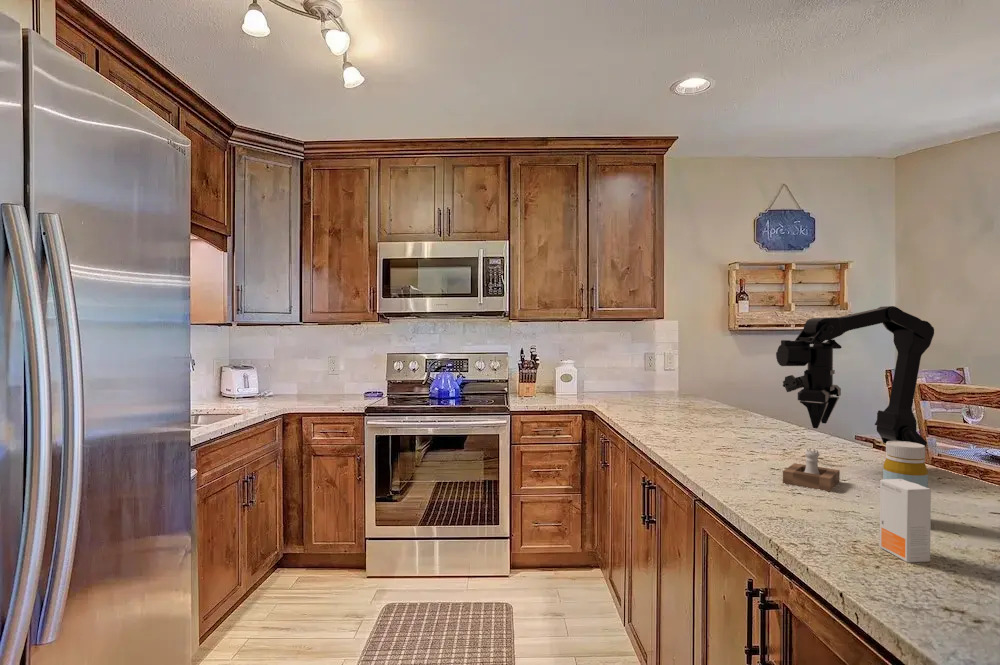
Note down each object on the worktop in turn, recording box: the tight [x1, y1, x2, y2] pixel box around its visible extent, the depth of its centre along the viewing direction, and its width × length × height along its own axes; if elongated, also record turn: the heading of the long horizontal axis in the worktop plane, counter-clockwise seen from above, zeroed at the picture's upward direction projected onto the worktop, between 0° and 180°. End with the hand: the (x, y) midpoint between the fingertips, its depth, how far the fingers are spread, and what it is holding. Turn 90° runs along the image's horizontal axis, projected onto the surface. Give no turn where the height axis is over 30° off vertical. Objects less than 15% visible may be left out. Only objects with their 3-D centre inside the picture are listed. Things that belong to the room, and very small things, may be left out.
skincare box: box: [878, 478, 932, 564], centre depth 91 cm, size 6×4×12 cm
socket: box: [782, 462, 841, 492], centre depth 132 cm, size 10×10×3 cm
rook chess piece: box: [804, 448, 820, 475], centre depth 133 cm, size 4×4×8 cm
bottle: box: [882, 441, 929, 488], centre depth 107 cm, size 7×7×15 cm
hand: (819, 425), depth 143 cm, fingers open, 9 cm apart
